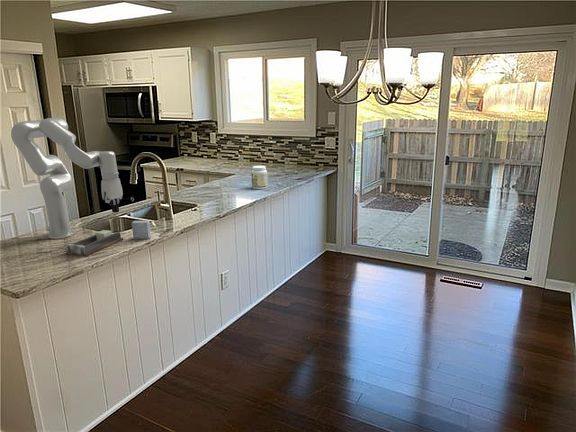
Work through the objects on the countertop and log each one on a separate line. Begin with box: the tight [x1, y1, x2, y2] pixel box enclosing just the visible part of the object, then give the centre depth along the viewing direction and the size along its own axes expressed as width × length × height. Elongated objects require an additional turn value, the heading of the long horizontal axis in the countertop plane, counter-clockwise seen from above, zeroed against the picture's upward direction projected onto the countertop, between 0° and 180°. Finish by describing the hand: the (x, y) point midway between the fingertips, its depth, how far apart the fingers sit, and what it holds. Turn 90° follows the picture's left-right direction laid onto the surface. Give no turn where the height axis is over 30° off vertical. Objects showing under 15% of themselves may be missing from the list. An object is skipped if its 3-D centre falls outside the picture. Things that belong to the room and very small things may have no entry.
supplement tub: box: [250, 165, 268, 190], centre depth 326 cm, size 12×12×17 cm
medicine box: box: [131, 220, 152, 240], centre depth 213 cm, size 8×4×9 cm, turn 92°
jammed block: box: [95, 229, 113, 240], centre depth 207 cm, size 5×5×4 cm
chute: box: [65, 231, 124, 257], centre depth 202 cm, size 12×24×5 cm, turn 160°
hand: (115, 212), depth 212 cm, fingers closed
